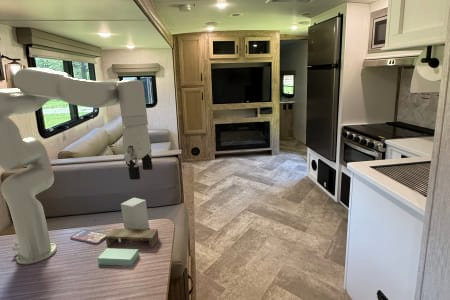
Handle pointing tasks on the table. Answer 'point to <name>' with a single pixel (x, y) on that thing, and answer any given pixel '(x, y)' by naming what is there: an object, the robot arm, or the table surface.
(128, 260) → the mint green tile
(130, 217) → the supplement box
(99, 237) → the smartphone
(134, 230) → the walnut stand
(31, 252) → the robot arm
